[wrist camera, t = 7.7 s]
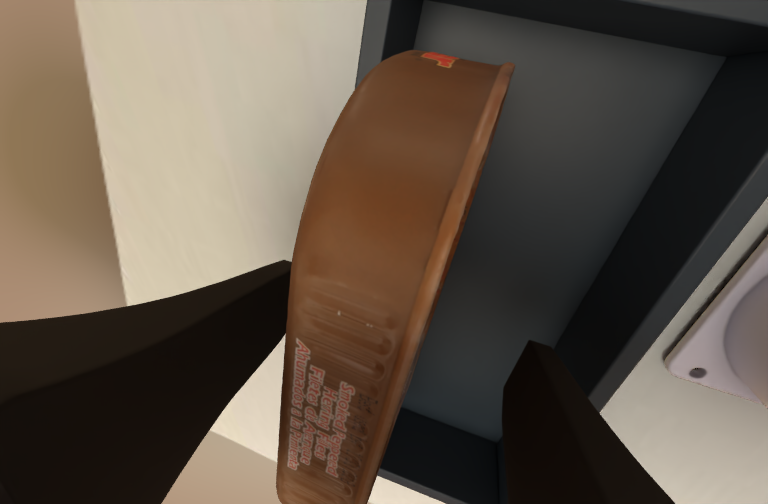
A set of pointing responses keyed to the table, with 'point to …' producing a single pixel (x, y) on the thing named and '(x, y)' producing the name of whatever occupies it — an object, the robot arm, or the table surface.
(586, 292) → the bin
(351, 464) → the tin
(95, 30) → the table surface
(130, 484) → the robot arm
